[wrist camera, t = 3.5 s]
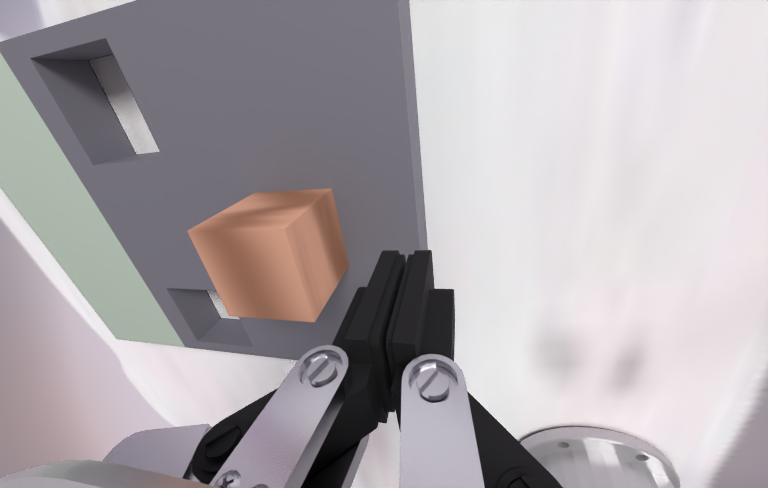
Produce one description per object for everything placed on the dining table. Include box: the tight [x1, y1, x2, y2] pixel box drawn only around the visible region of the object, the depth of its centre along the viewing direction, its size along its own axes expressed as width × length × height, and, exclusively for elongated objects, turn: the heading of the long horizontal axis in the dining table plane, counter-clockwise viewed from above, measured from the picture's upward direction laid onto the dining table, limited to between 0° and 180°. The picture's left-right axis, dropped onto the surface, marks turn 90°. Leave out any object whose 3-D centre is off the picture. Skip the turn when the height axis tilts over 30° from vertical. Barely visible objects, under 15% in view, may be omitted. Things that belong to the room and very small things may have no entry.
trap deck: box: [0, 0, 428, 360], centre depth 22 cm, size 32×24×3 cm
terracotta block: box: [187, 188, 349, 322], centre depth 16 cm, size 5×5×5 cm
